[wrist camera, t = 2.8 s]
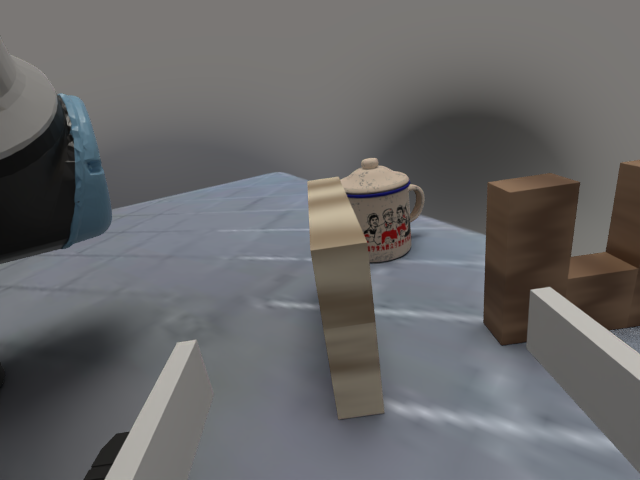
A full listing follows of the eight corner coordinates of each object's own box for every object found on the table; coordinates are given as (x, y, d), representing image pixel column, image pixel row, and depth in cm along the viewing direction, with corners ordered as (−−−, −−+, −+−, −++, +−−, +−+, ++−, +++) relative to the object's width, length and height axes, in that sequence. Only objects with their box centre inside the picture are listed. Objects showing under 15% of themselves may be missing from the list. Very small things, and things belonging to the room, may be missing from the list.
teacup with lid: (364, 271, 42) (353, 171, 38) (331, 247, 50) (319, 162, 46) (447, 243, 46) (446, 150, 41) (404, 225, 54) (399, 145, 49)
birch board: (384, 413, 23) (367, 242, 19) (338, 419, 23) (310, 250, 19) (351, 285, 39) (338, 176, 35) (324, 289, 39) (307, 181, 35)
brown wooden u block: (501, 345, 28) (509, 192, 23) (483, 322, 30) (487, 182, 26) (686, 319, 27) (729, 160, 23) (650, 298, 30) (683, 153, 26)
